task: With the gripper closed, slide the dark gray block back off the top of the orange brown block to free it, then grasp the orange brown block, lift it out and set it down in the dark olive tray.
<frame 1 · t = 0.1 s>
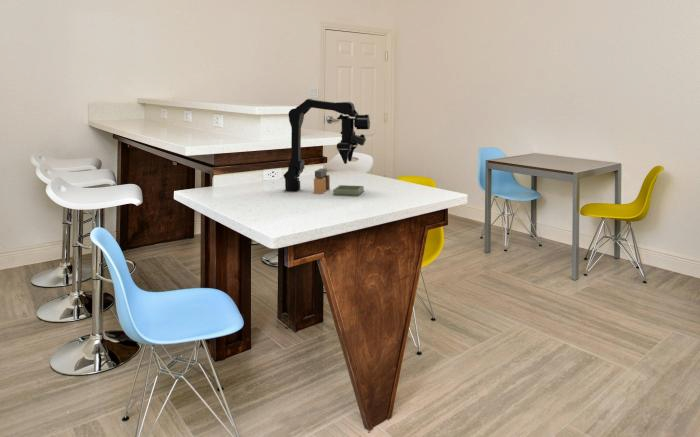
hand: (347, 162, 252), 14 cm above the worktop, fingers open, 9 cm apart
orange brown block: (320, 192, 256), on the worktop
tray: (348, 193, 254), on the worktop
wood grain block: (324, 189, 263), on the worktop
dark gray block: (320, 173, 256), point 9 cm above the worktop, slide at 0.0 cm
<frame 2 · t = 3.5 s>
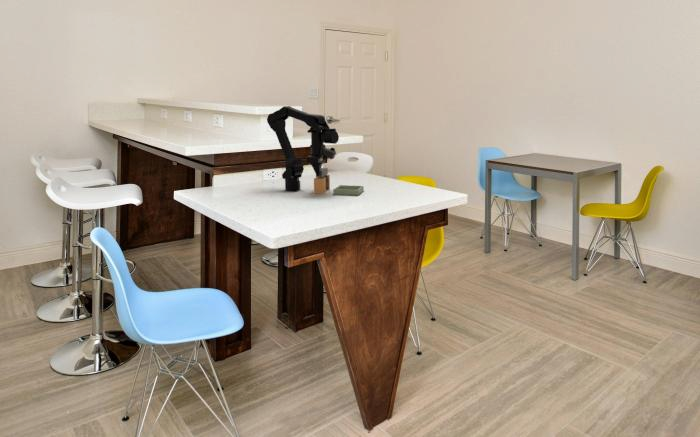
hand: (317, 175, 251), 8 cm above the worktop, fingers closed
dark gray block: (321, 172, 257), point 9 cm above the worktop, slide at 1.8 cm, touching gripper
everything else where it was.
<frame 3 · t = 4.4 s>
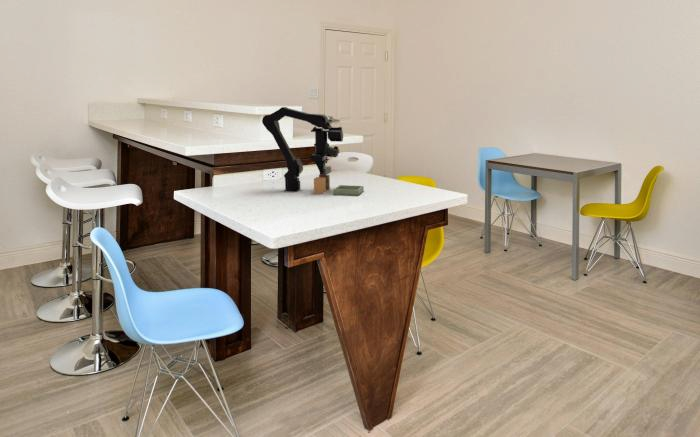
hand: (321, 173, 257), 8 cm above the worktop, fingers closed
dark gray block: (325, 170, 263), point 9 cm above the worktop, slide at 8.2 cm, touching gripper
everything else where it was.
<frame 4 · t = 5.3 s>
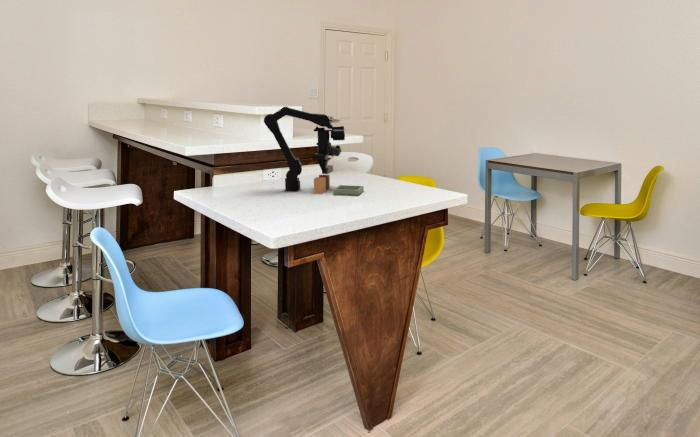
hand: (324, 172, 261), 9 cm above the worktop, fingers closed
dark gray block: (327, 169, 267), point 9 cm above the worktop, slide at 12.1 cm, touching gripper
everything else where it was.
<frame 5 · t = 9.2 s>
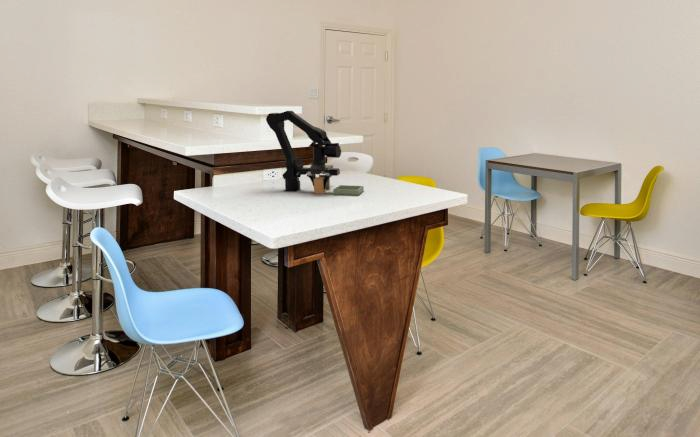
hand: (319, 189, 255), 2 cm above the worktop, fingers closed on orange brown block, 4 cm apart
orange brown block: (319, 192, 256), on the worktop, touching gripper
dark gray block: (327, 169, 267), point 9 cm above the worktop, slide at 12.3 cm
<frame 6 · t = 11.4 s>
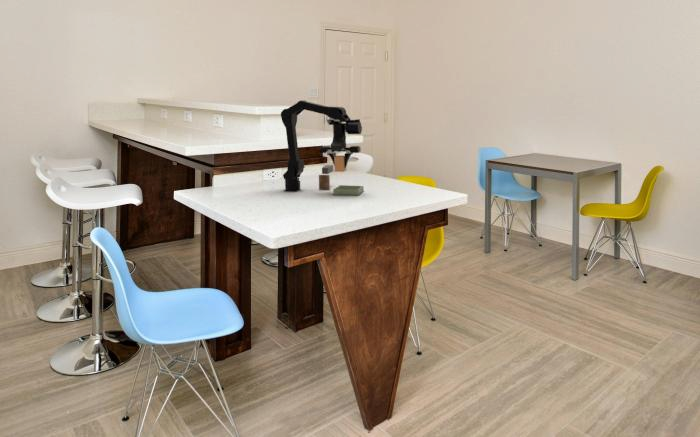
hand: (340, 167, 251), 12 cm above the worktop, fingers closed on orange brown block, 4 cm apart
orange brown block: (340, 170, 252), point 11 cm above the worktop, touching gripper
everything else where it was.
when the fingers open (4 cm above the worktop, at t = 13.5 s): orange brown block drops 1 cm, resting on tray.
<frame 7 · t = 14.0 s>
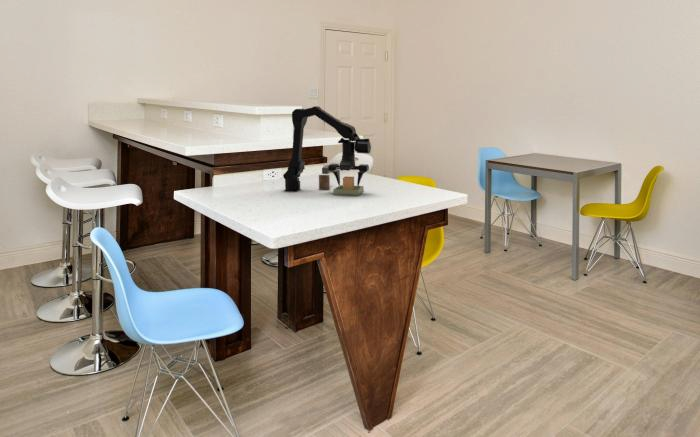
hand: (348, 185, 253), 4 cm above the worktop, fingers open, 9 cm apart
orange brown block: (348, 191, 253), point 1 cm above the worktop, touching tray
everything else where it was.
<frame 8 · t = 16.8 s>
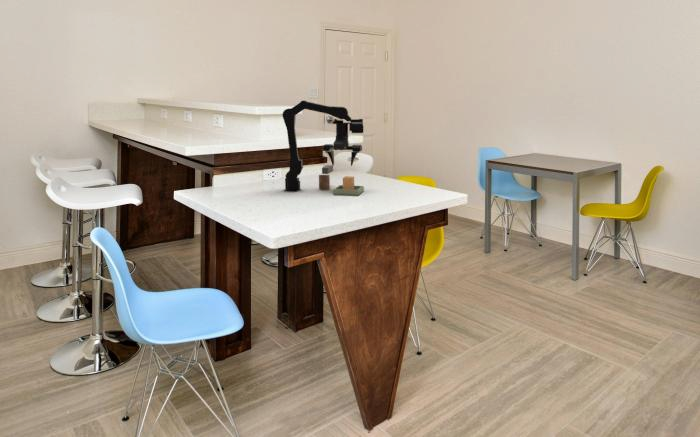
hand: (342, 165, 259), 12 cm above the worktop, fingers open, 9 cm apart
nothing on the worktop moved.
at the end: dark gray block slide at 12.3 cm; orange brown block inside the target area on the tray (0.1 cm from its centre), point 0.6 cm above the tray's base; orange brown block tilted 0° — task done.
